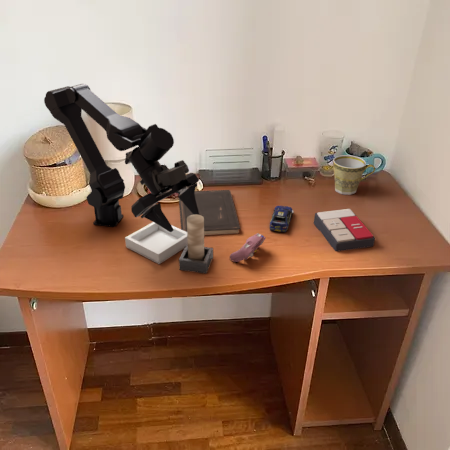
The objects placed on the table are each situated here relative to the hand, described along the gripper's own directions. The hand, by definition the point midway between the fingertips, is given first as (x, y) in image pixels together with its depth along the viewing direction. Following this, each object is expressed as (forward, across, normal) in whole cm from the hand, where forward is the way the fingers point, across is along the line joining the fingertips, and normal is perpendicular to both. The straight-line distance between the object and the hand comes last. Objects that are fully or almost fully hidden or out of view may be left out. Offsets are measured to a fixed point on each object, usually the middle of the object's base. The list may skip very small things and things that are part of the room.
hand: (185, 223), depth 119 cm
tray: (0, 0, +14) cm, 14 cm away
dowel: (+10, 0, +5) cm, 11 cm away
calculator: (+26, +36, -10) cm, 45 cm away
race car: (+14, +31, +2) cm, 34 cm away
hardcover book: (0, +21, +15) cm, 26 cm away
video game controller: (+15, +11, 0) cm, 19 cm away
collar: (+10, 0, +5) cm, 11 cm away
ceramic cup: (+18, +61, -3) cm, 64 cm away
